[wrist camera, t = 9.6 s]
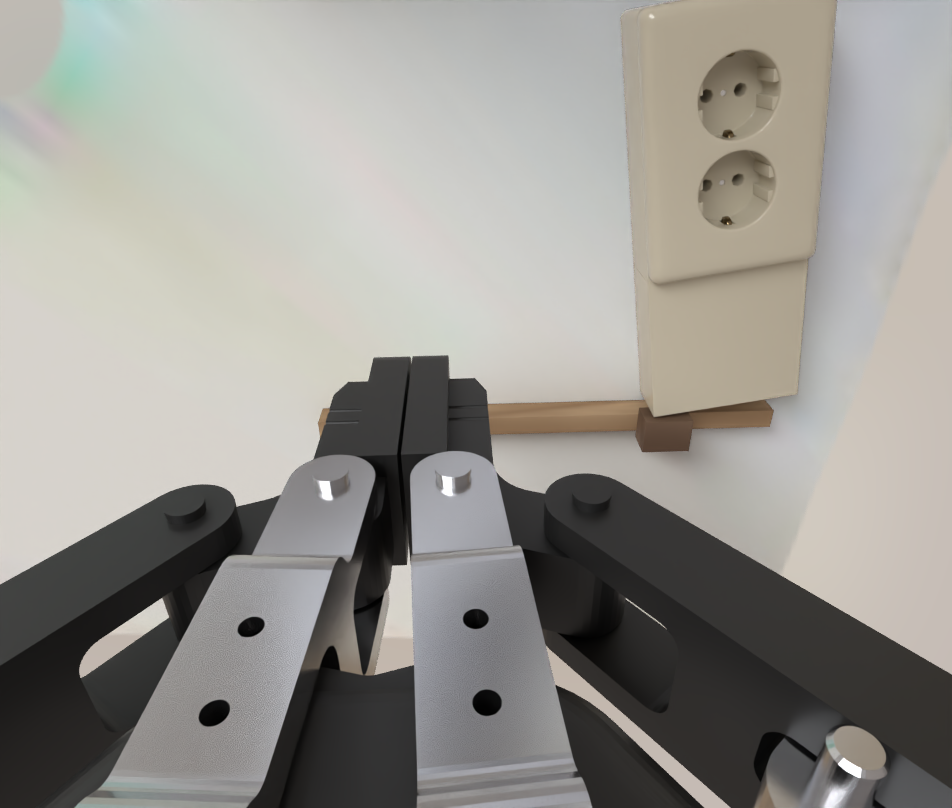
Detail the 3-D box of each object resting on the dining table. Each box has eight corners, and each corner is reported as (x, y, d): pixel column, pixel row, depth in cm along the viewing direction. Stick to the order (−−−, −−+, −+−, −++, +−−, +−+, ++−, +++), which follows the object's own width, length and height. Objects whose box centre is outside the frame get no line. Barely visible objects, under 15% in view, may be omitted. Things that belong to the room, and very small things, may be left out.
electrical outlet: (658, 426, 33) (642, 8, 24) (638, 387, 36) (617, 11, 27) (805, 403, 32) (844, -32, 23) (771, 366, 36) (793, -24, 27)
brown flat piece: (245, -111, 25) (221, -127, 22) (879, -118, 25) (928, -136, 22) (326, 430, 36) (316, 461, 34) (757, 418, 37) (780, 448, 34)
